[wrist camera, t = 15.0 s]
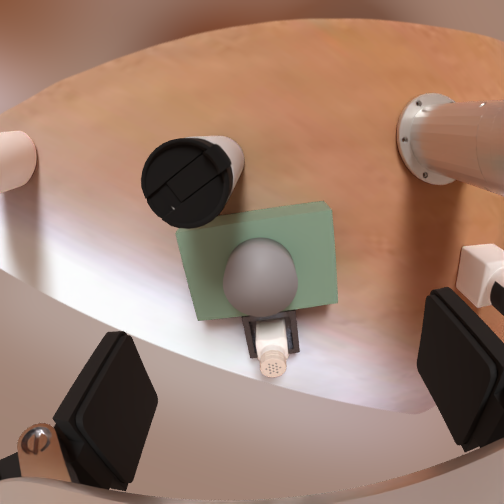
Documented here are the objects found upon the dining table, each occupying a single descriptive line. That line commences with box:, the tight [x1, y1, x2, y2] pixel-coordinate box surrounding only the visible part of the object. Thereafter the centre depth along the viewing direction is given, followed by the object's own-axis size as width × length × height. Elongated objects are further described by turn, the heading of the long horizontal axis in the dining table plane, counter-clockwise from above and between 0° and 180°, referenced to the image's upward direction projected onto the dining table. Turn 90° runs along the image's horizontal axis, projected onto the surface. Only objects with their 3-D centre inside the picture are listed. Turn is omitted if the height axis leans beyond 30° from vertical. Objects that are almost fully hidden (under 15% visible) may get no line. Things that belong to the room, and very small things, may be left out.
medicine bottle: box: [456, 244, 504, 315], centre depth 37 cm, size 7×7×12 cm
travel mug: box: [141, 136, 244, 229], centre depth 29 cm, size 6×7×20 cm
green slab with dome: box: [176, 201, 338, 321], centre depth 39 cm, size 18×12×9 cm, turn 99°
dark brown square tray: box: [242, 309, 300, 358], centre depth 45 cm, size 7×7×3 cm
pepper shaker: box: [256, 317, 289, 377], centre depth 42 cm, size 4×4×10 cm
